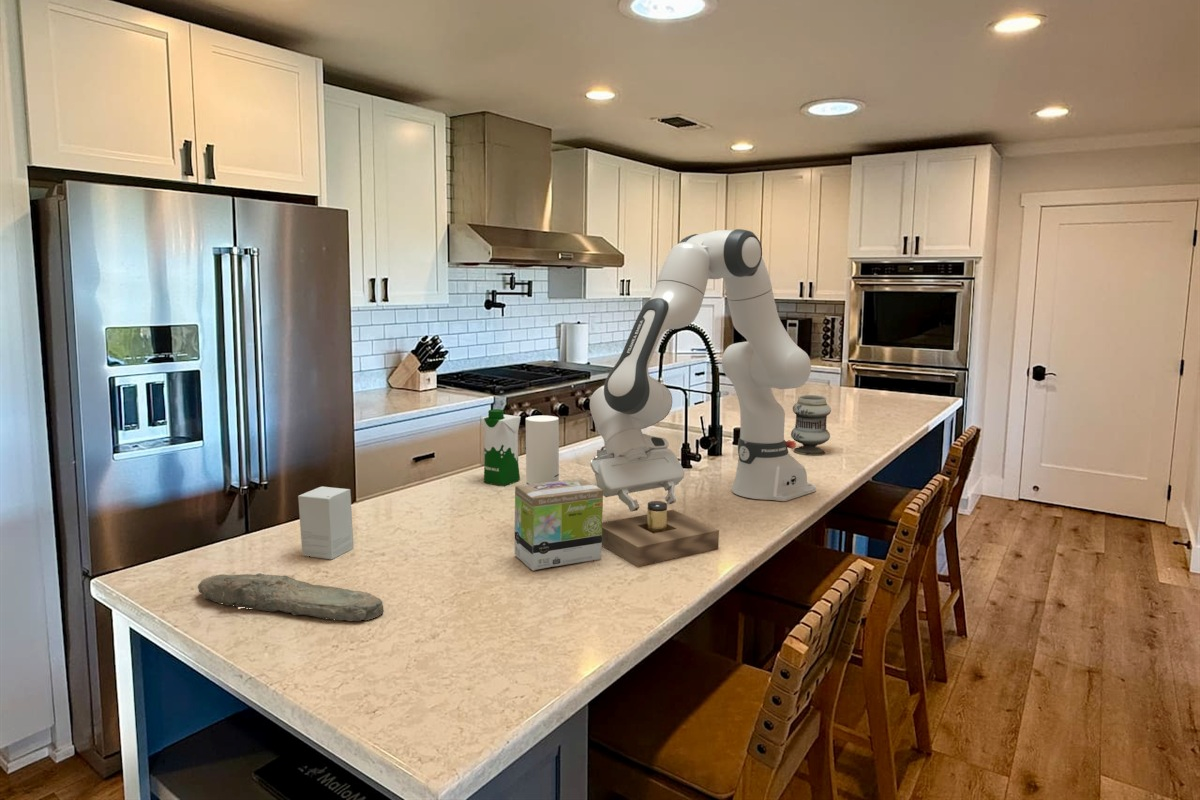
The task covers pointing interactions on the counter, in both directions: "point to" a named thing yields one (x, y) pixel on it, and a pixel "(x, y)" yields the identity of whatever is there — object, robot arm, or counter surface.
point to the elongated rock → (290, 596)
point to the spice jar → (657, 516)
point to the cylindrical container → (542, 449)
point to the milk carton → (500, 447)
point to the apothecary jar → (811, 424)
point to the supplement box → (326, 522)
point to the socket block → (658, 538)
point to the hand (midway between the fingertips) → (654, 506)
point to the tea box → (558, 523)
